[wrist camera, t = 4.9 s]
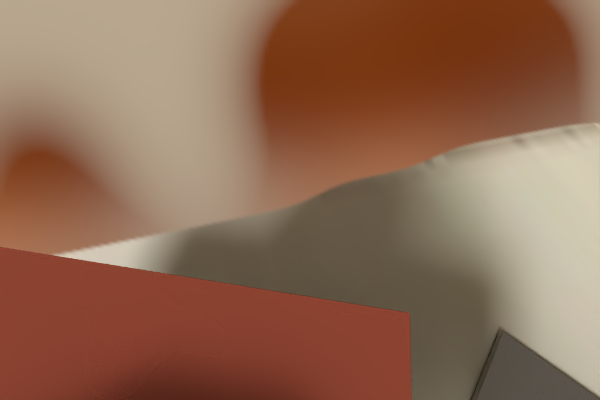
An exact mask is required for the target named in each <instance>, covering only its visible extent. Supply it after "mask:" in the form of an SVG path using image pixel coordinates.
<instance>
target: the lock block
mask: <svg viewBox="0 0 600 400" xmlns="http://www.w3.org/2000/svg"><path fill="white" fill-rule="evenodd" d="M0 400H411V346H410V313H407V312H401V311H395V310H388V309H382V308H376V307H370V306H364V305H357V304H351V303H345V302H339V301H333V300H326V299H320V298H314V297H308V296H301V295H295V294H289V293H283V292H277V291H270V290H264V289H258V288H252V287H246V286H239V285H233V284H227V283H221V282H215V281H208V280H202V279H196V278H190V277H183V276H177V275H171V274H165V273H159V272H152V271H146V270H140V269H134V268H128V267H121V266H115V265H109V264H103V263H97V262H90V261H84V260H78V259H72V258H65V257H59V256H53V255H47V254H41V253H34V252H28V251H21V250H15V249H10V248H3V247H0Z"/></svg>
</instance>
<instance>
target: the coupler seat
mask: <svg viewBox="0 0 600 400" xmlns="http://www.w3.org/2000/svg"><path fill="white" fill-rule="evenodd" d="M471 400H600V399H598V398H597V397H595V396H594V395H593V394H591V393H590V392H588V391H587V390H586V389H584V388H583V387H581V386H580V385H578V384H577V383H576V382H574V381H573V380H571V379H570V378H568V377H567V376H566V375H564V374H563V373H561V372H560V371H559V370H557V369H556V368H554V367H553V366H551V365H550V364H549V363H547V362H546V361H544V360H543V359H542V358H540V357H539V356H537V355H536V354H534V353H533V352H532V351H530V350H529V349H527V348H526V347H525V346H523V345H522V344H520V343H519V342H517V341H516V340H515V339H513V338H512V337H510V336H509V335H508V334H506V333H505V332H499V333H498V335H497V338H496V340H495V342H494V345H493V347H492V350H491V352H490V355H489V357H488V360H487V362H486V365H485V367H484V370H483V372H482V375H481V377H480V380H479V382H478V384H477V387H476V389H475V392H474V394H473V397H472V399H471Z"/></svg>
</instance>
